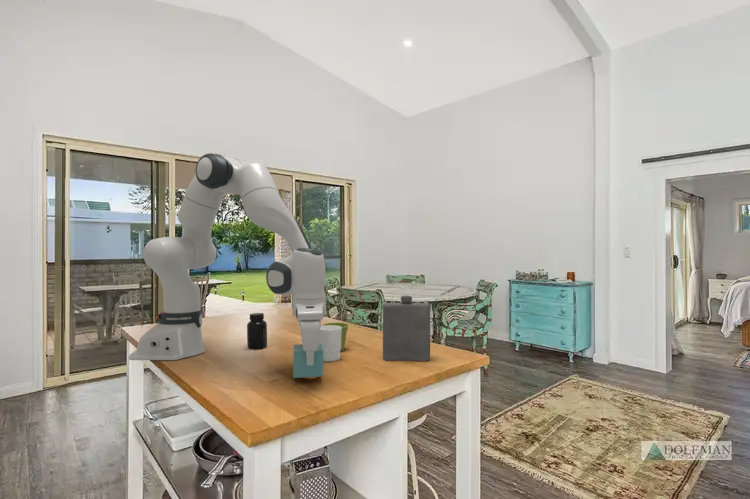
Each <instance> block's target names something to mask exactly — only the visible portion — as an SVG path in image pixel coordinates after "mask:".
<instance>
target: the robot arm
mask: <svg viewBox="0 0 750 499" xmlns="http://www.w3.org/2000/svg"><path fill="white" fill-rule="evenodd" d="M227 194H229V195H230V194H232V195H234V196H240V199H241V204H242V207H243V210H244V212H245V215H246V216H247V218H248V219H249V221H250V222H251V223H253V224H254V225H256V226H258V227H260V228H263V229H266V230H268V231H271V232H273V233H275V234H277V235H278V236H280V237H281V238H282V239H283V240H284V241H285V242H286V243H287V245H288V249H289V250H290V252H291V255H288V256H286V257H284V258H282V259H280V260H277V261H274V262H272V263H271V264H270V265H269V267H268V268H267V269H266V270H267V271H266V274H265V275H266V278H265V280H266V284H267V287H268V288H269V291H271V292H272V293H274V294H276V295H292V316H293V317H295V318H296V320H297V323H298V324H299V328H300V336H301V337H300V338H301V344H302V345H303V350H304V351H306V359H307V365H313V364H314V351H317V350H318V346H319V338H320V327H321V326H322V324H321V322H322V320H323V319H324V316H325V315H326V314H327V312H326V311H327V309H326V308H327V303H326V300H327V296H326V292H325V285H326V281H327V280H326V279H327V278H326V277H327V275H326V261H325V257H324V254H323V253H322V251H320V250H319V249H316V248H312V246H311V245H310V242H309V240H308V238H307V236H306V234H305V232H304V231H303V228H302V226H301V225H300V222H299V221H298V219H297V218H296V216H295V215H293V213H291V212H292V211H290V209H288V207H287V206H286V204H285V203H284V201H283V199H282V197H281V195H280V192H279V190H278V187H277V185H276V183H275V181H274V179H273V176H272V174H271V173H270V171H269V170H268V167H266V165H265V164H262V163H260V162H245V161H244V160H242V159H238V158H235V157H233V158H232V157H229V156H226V155H224V156H223V155H222V154H220V153H210V152H209V153H205V154H203V155H202V156H200V158H199V159H198V160H197V163H196V165H195V174H194V176H193V178H192V179H191V181H190V183H189V185H188V187H187V189H186V191H185V194H184V197H183V200H182V202H181V204H180V207H179V209H178V211H177V212H178V213H177V219H178V222H179V223H180V224H181V225H182V226H183V233H182V235H181V236H163V237H158V238H154V239H151V240H148V242H147V243H146V244H145V246H144V248H143V254H142V255H143V260H144V263H145V265H147V267H149V268H150V269H151V270H152V271H154V272H155V273H156V275H157V277H158V279H159V281H160V283H161V287H162V291H163V311H161V312H160V313H159V314H158V315H157V316H155V319H156V320H157V324H155V325H154V326H153V327H151V328H150V329H149V330H147V331H146V332H145V333H144V334H143V335H141V337H140V338H139V339H138V343H137V347H136V350H134V351H132V352H131V353H130V354H129V355H128V360H129V361H178V360H180V359H184V358H189V357H193V356H197V355H201V354H203V353H205V352H206V347H205V344H204V340H203V335H202V324H203V314H202V309H201V288H200V286H199V284H197V283H196V282H194V281H193V280H192V278H191V277H190V273H189V270H197V269H198V270H199V269H204V268H206V267H209V266H211V265H212V264H214V263H215V261H216V259H217V258H216V257H217V248H216V246H215V244H214V243H213V240H212V232H213V230H212V229H213V227H214V226H213V225H214V224H215V220H216V217H217V214H218V212H219V209H220V207H221V205H222V201H223V199H224V196H226V195H227Z"/></svg>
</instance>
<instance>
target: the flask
mask: <svg viewBox="0 0 750 499" xmlns="http://www.w3.org/2000/svg"><path fill="white" fill-rule="evenodd" d="M400 301H401V302H385V303H383V304H382V359H383V360H384V361H387V362H395V361H396V362H397V361H398V362H400V361H403V362H405V361H407V362H420V361H426V362H429V361H430V360H431V304H429V303H424V302H412V301H413V297H412V296H411V295H401V297H400ZM428 360H429V361H428Z"/></svg>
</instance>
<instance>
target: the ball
mask: <svg viewBox="0 0 750 499" xmlns="http://www.w3.org/2000/svg"><path fill="white" fill-rule="evenodd" d="M304 378H305V379H306V380H314V379H316V378H317V377H304Z"/></svg>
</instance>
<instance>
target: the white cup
mask: <svg viewBox="0 0 750 499" xmlns="http://www.w3.org/2000/svg"><path fill="white" fill-rule="evenodd" d="M341 335H342V327H341V326H336V325H325V326H322V325H321V327H320V338H319V344H322V348H323V362H336V361H339V360H340V359H341Z"/></svg>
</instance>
